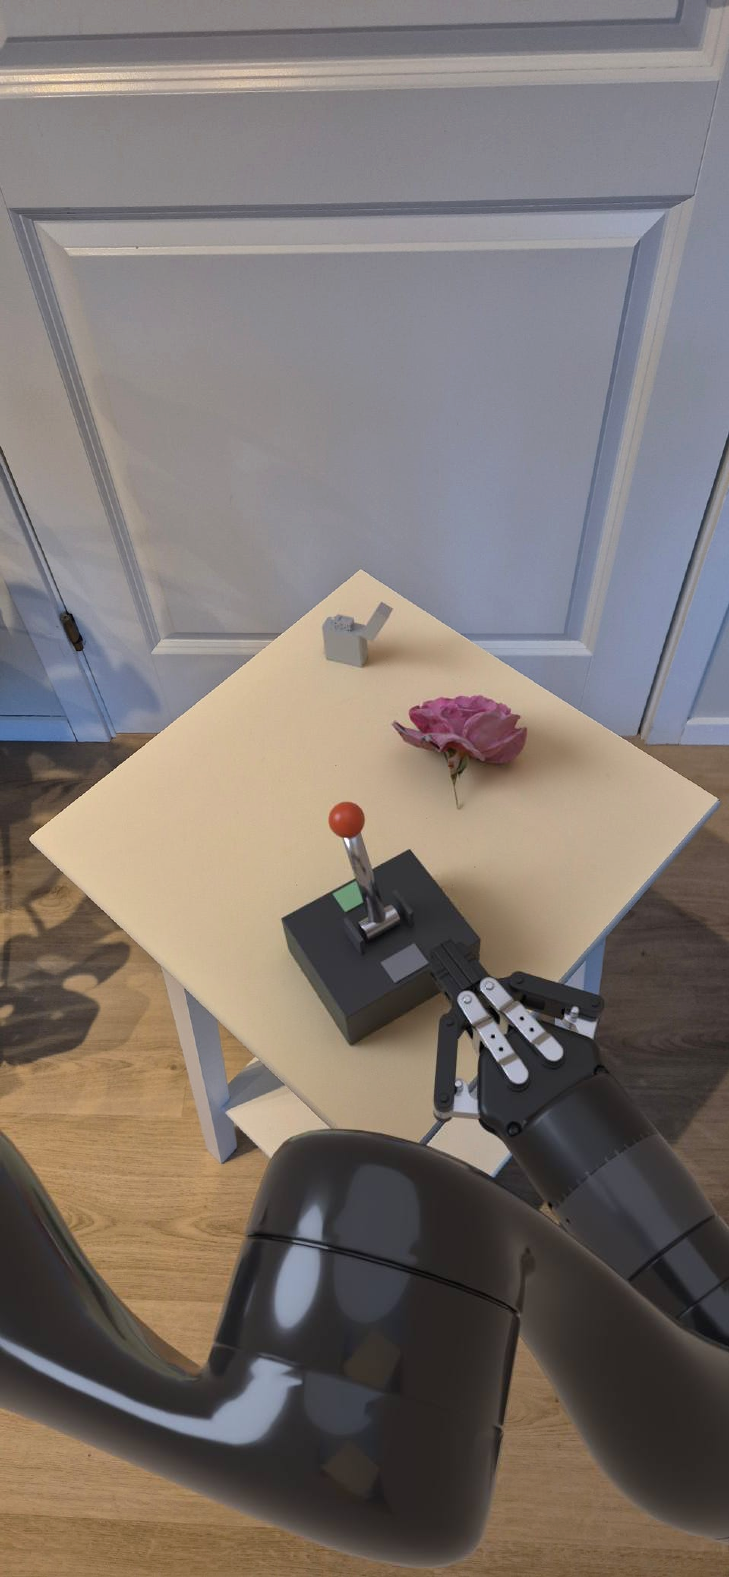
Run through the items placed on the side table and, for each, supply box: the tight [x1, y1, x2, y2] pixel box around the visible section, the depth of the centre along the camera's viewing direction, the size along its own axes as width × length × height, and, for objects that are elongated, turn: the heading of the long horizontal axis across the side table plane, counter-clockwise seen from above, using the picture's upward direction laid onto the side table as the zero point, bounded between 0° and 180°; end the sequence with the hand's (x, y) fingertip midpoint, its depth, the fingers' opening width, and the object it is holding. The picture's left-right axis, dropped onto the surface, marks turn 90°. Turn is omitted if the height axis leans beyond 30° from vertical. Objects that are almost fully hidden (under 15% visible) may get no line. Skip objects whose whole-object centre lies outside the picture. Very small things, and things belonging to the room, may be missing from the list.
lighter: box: [321, 601, 394, 668], centre depth 99 cm, size 7×2×8 cm, turn 69°
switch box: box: [280, 848, 482, 1046], centre depth 78 cm, size 12×10×7 cm
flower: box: [390, 694, 528, 810], centre depth 90 cm, size 11×10×10 cm
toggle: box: [327, 801, 401, 941], centre depth 74 cm, size 3×3×12 cm
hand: (438, 949), depth 65 cm, fingers closed
